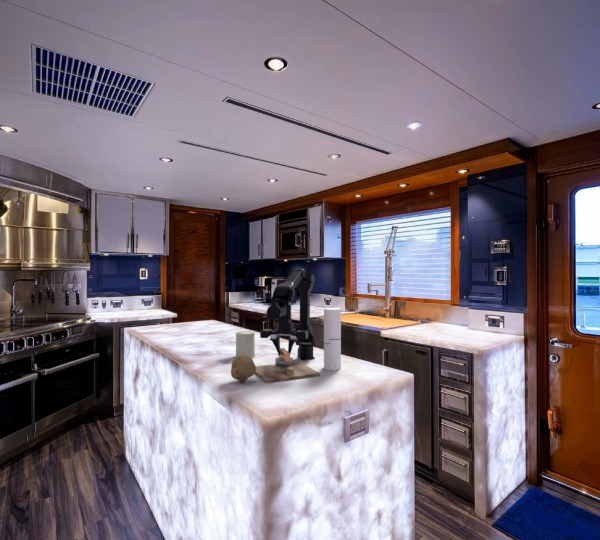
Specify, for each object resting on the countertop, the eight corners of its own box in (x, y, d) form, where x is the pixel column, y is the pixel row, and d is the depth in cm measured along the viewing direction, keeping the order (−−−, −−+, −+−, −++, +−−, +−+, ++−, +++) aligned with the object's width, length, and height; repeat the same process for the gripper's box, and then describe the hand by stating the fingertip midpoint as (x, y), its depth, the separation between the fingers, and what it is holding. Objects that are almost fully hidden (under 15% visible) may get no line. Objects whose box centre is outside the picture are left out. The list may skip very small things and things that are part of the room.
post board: (299, 363, 157) (299, 356, 157) (319, 375, 139) (319, 367, 139) (250, 369, 148) (250, 361, 148) (266, 383, 130) (266, 374, 130)
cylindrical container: (340, 370, 146) (340, 309, 146) (322, 369, 147) (322, 309, 147) (341, 366, 153) (341, 308, 153) (325, 365, 154) (325, 307, 154)
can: (233, 355, 173) (233, 330, 173) (251, 353, 177) (251, 329, 177) (238, 359, 164) (238, 333, 164) (257, 357, 168) (257, 332, 168)
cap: (295, 366, 140) (295, 351, 140) (278, 368, 138) (278, 353, 138) (289, 361, 149) (289, 347, 149) (272, 362, 146) (272, 348, 146)
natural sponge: (259, 379, 134) (259, 352, 134) (249, 386, 126) (249, 358, 126) (238, 377, 137) (238, 351, 137) (226, 384, 128) (226, 356, 128)
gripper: (310, 314, 149) (310, 351, 150) (267, 313, 153) (267, 350, 153) (305, 318, 139) (305, 358, 139) (259, 317, 142) (259, 356, 142)
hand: (284, 355), depth 143 cm, fingers closed on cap, 4 cm apart
